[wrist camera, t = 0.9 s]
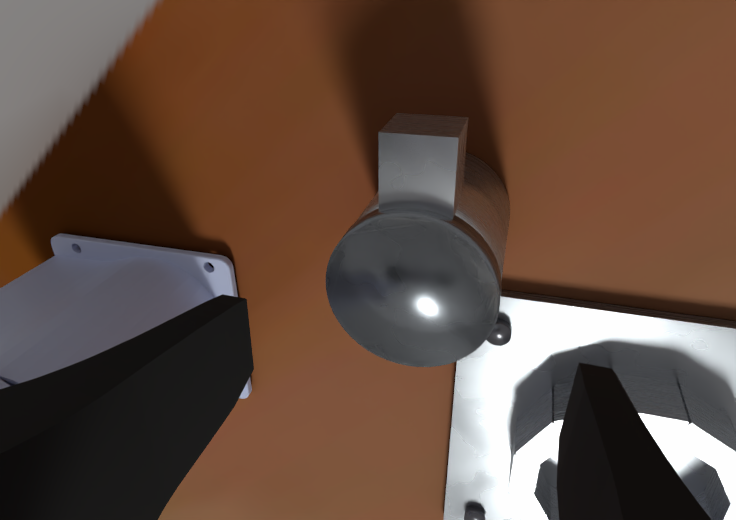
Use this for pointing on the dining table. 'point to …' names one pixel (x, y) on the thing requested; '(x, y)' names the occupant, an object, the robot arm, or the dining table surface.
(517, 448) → the duct flange
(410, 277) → the cylinder with square knob
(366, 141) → the dining table surface
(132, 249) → the robot arm
